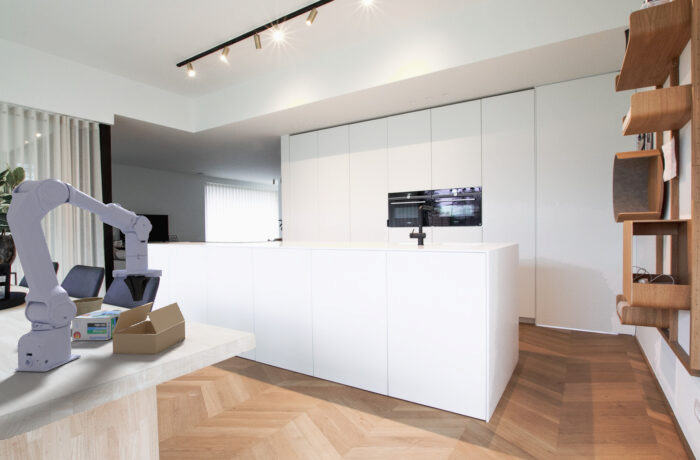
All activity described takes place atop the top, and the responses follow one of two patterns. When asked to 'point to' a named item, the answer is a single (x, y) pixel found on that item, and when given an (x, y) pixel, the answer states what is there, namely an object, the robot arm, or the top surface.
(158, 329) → the flap
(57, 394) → the top surface
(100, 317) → the light bulb box
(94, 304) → the flower pot
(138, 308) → the flap
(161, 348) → the carton
